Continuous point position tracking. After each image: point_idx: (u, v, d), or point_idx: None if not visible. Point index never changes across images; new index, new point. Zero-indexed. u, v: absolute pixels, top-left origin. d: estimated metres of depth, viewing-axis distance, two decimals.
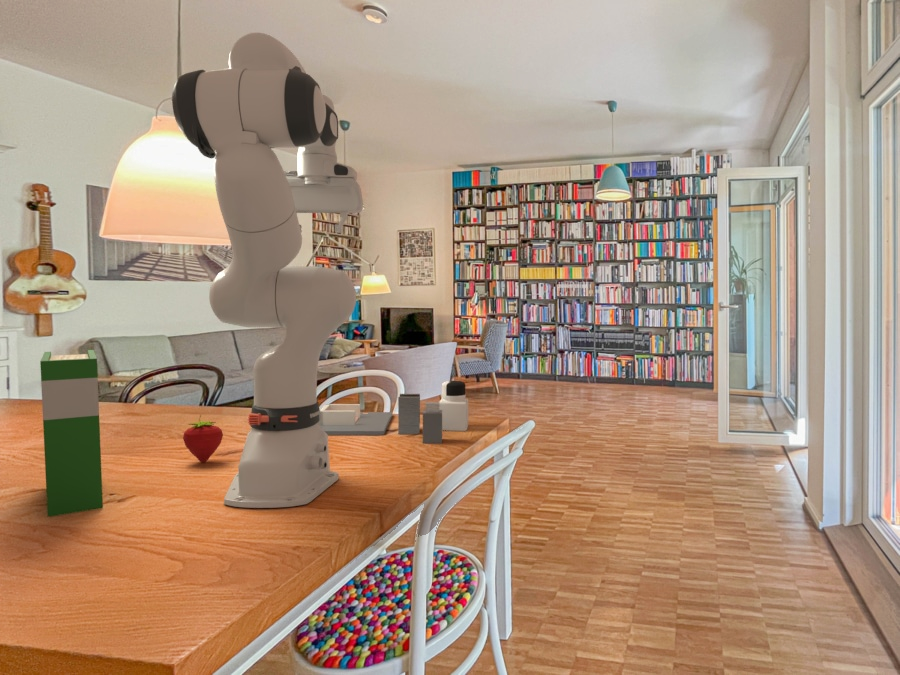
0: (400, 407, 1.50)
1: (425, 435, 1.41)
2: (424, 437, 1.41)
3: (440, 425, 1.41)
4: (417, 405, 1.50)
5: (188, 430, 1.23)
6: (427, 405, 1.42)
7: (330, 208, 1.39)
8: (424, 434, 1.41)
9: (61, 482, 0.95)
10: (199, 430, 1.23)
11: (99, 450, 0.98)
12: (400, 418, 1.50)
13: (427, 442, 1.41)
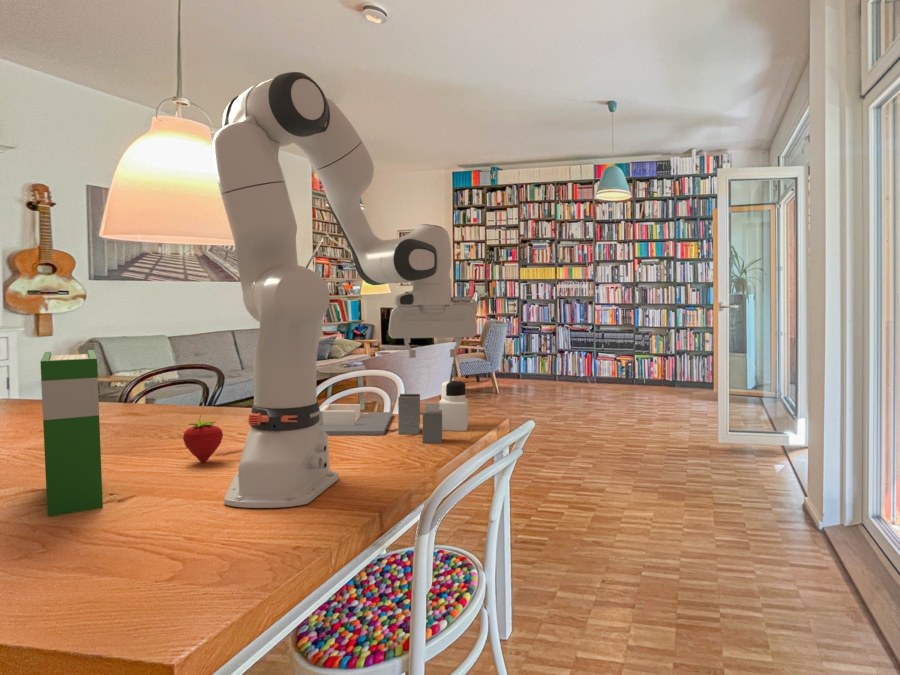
0: (400, 407, 1.50)
1: (425, 435, 1.41)
2: (424, 437, 1.41)
3: (440, 425, 1.41)
4: (417, 405, 1.50)
5: (188, 430, 1.23)
6: (427, 405, 1.42)
7: None
8: (424, 434, 1.41)
9: (61, 482, 0.95)
10: (199, 430, 1.23)
11: (99, 450, 0.98)
12: (400, 418, 1.50)
13: (427, 442, 1.41)
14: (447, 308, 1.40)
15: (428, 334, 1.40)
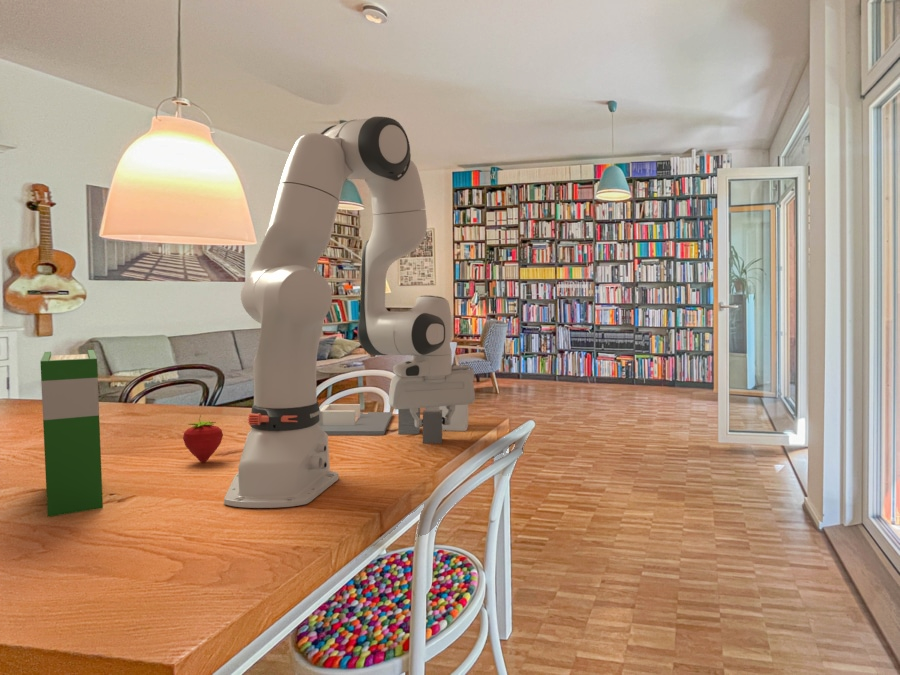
0: None
1: (425, 435, 1.41)
2: (424, 437, 1.41)
3: (440, 425, 1.41)
4: None
5: (188, 430, 1.23)
6: None
7: None
8: (424, 434, 1.41)
9: (61, 482, 0.95)
10: (199, 430, 1.23)
11: (99, 450, 0.98)
12: (400, 418, 1.50)
13: (427, 442, 1.41)
14: (448, 377, 1.42)
15: (431, 404, 1.41)
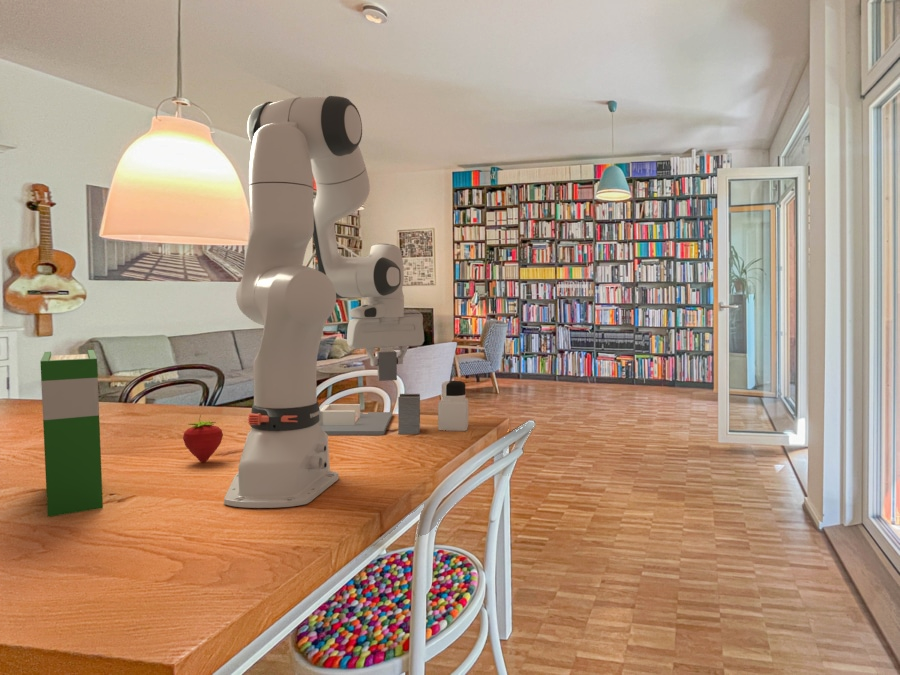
0: (400, 407, 1.50)
1: (381, 373, 1.53)
2: (380, 375, 1.53)
3: (395, 363, 1.54)
4: (417, 405, 1.50)
5: (188, 430, 1.23)
6: None
7: None
8: (380, 372, 1.53)
9: (61, 482, 0.95)
10: (199, 430, 1.23)
11: (99, 450, 0.98)
12: (400, 418, 1.50)
13: (383, 379, 1.53)
14: (401, 320, 1.55)
15: (386, 344, 1.53)
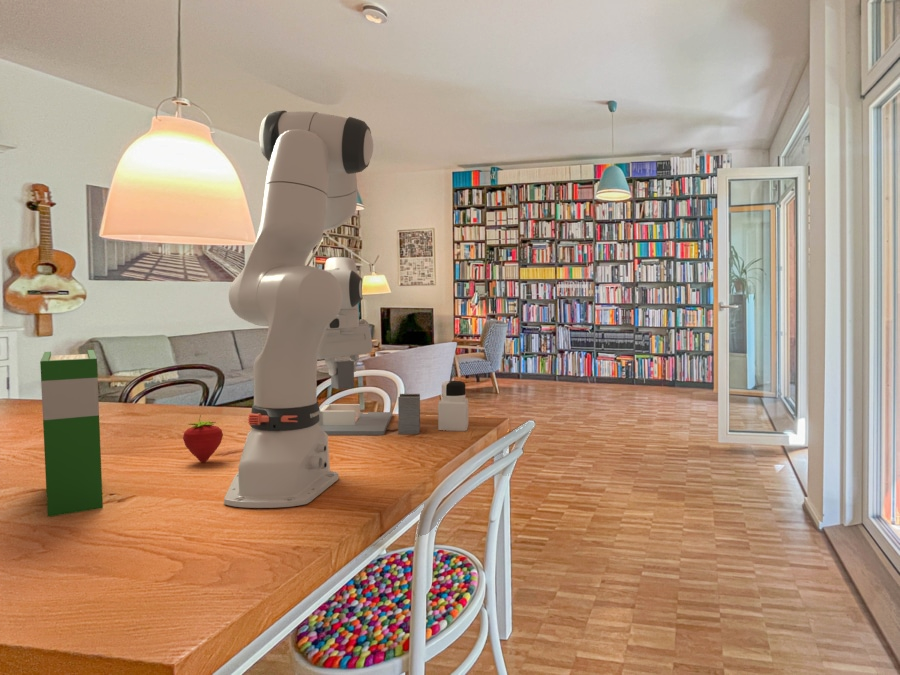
0: (400, 407, 1.50)
1: (340, 381, 1.58)
2: (339, 383, 1.58)
3: (352, 372, 1.60)
4: (417, 405, 1.50)
5: (188, 430, 1.23)
6: None
7: None
8: (339, 381, 1.58)
9: (61, 482, 0.95)
10: (199, 430, 1.23)
11: (99, 450, 0.98)
12: (400, 418, 1.50)
13: (342, 388, 1.58)
14: (355, 329, 1.61)
15: (344, 353, 1.58)
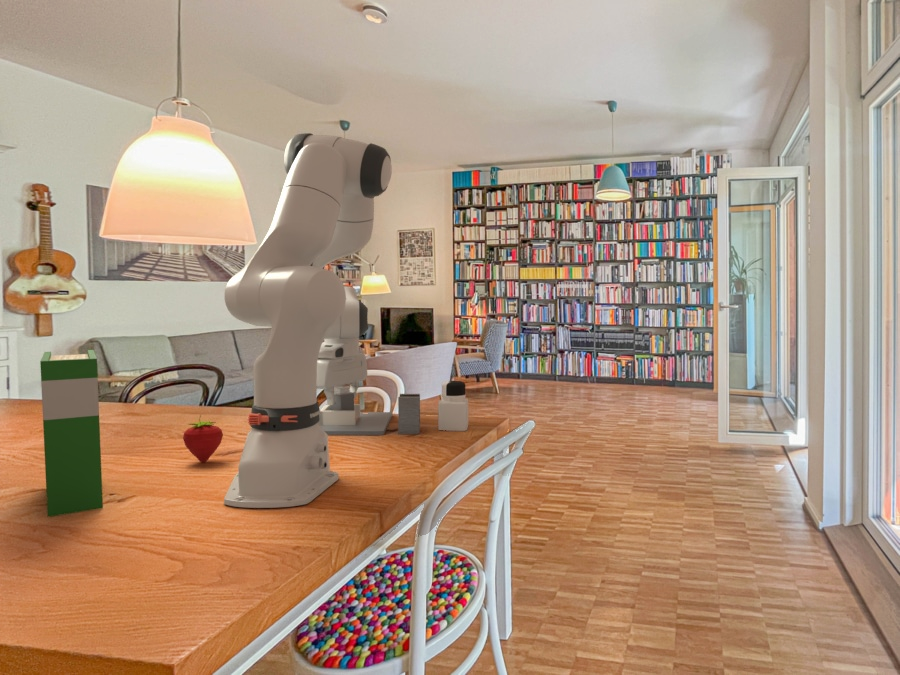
0: (400, 407, 1.50)
1: None
2: None
3: (352, 404, 1.61)
4: (417, 405, 1.50)
5: (188, 430, 1.23)
6: (341, 388, 1.59)
7: None
8: None
9: (61, 482, 0.95)
10: (199, 430, 1.23)
11: (99, 450, 0.98)
12: (400, 418, 1.50)
13: None
14: (354, 357, 1.62)
15: (345, 381, 1.59)
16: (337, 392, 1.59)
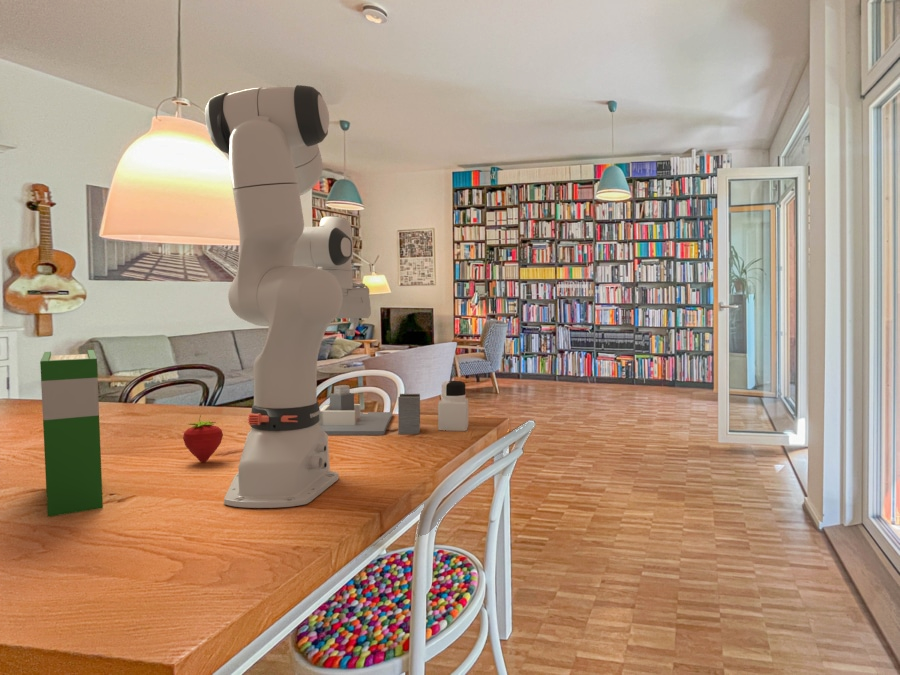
0: (400, 407, 1.50)
1: None
2: None
3: (352, 404, 1.61)
4: (417, 405, 1.50)
5: (188, 430, 1.23)
6: (341, 388, 1.59)
7: None
8: None
9: (61, 482, 0.95)
10: (199, 430, 1.23)
11: (99, 450, 0.98)
12: (400, 418, 1.50)
13: None
14: (350, 292, 1.58)
15: None
16: (337, 392, 1.59)
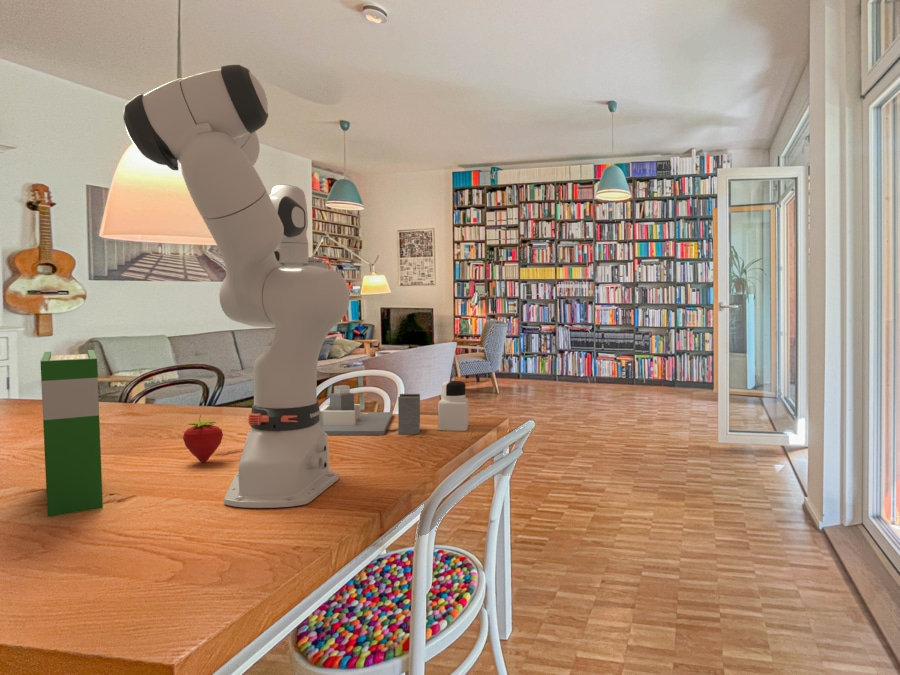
0: (400, 407, 1.50)
1: None
2: None
3: (352, 404, 1.61)
4: (417, 405, 1.50)
5: (188, 430, 1.23)
6: (341, 388, 1.59)
7: None
8: None
9: (61, 482, 0.95)
10: (199, 430, 1.23)
11: (99, 450, 0.98)
12: (400, 418, 1.50)
13: None
14: None
15: None
16: (337, 392, 1.59)
